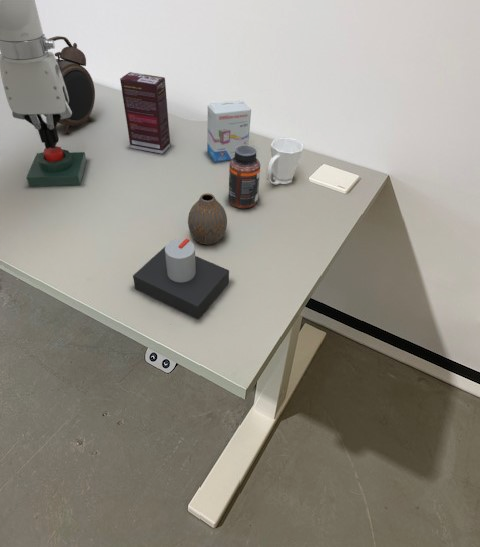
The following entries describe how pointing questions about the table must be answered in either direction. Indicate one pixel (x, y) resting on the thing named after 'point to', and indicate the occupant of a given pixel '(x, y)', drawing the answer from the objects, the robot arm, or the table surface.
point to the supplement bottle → (244, 177)
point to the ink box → (227, 129)
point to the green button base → (57, 170)
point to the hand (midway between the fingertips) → (51, 145)
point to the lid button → (53, 154)
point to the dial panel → (182, 285)
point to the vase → (207, 220)
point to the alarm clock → (75, 83)
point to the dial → (180, 260)
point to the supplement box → (146, 111)
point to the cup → (284, 160)
